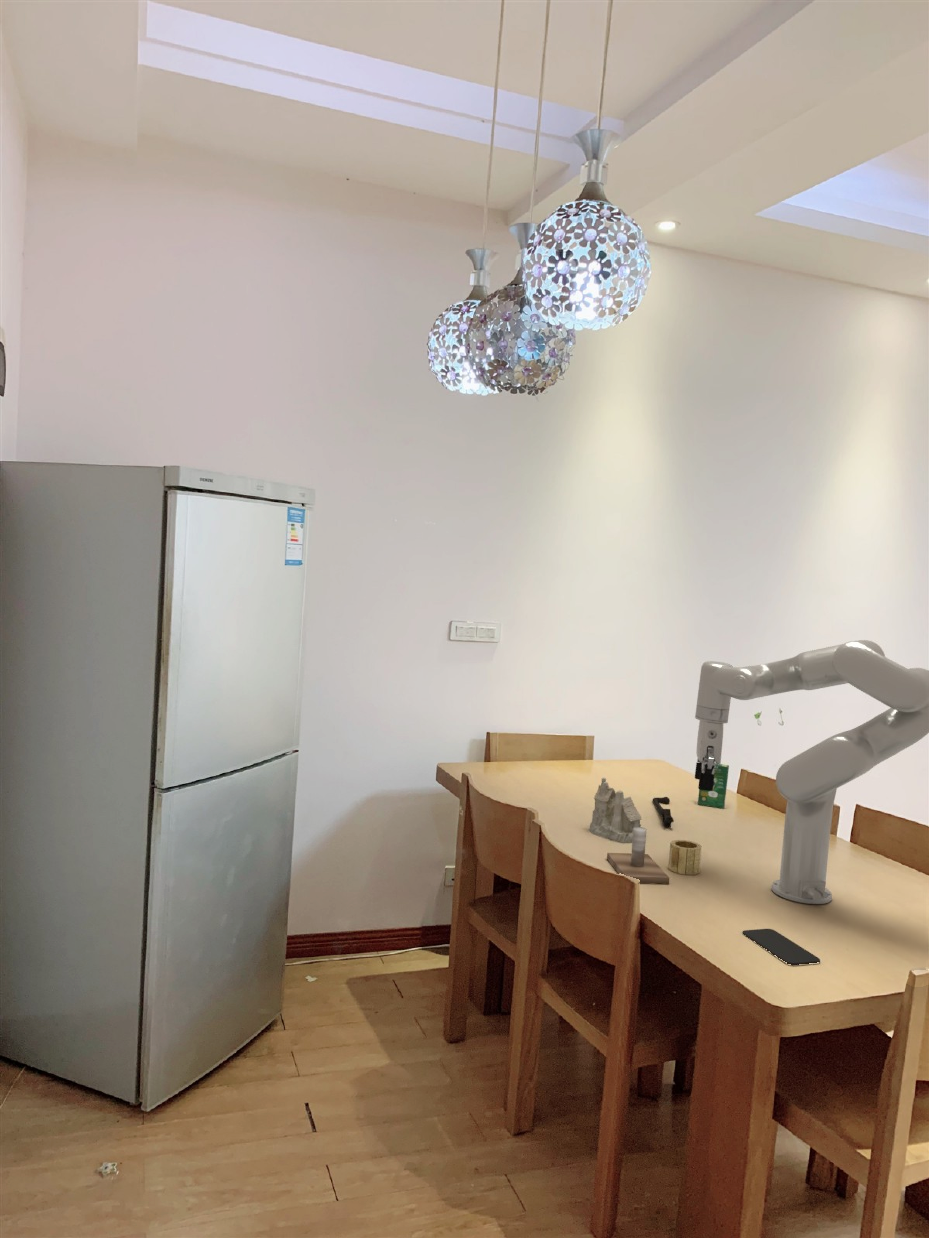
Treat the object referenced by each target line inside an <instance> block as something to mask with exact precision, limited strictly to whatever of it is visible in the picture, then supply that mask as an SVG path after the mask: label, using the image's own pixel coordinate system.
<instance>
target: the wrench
mask: <svg viewBox="0 0 929 1238" xmlns="http://www.w3.org/2000/svg"><path fill="white" fill-rule="evenodd" d="M670 802H671V801H670V798H669V797H668V796H664V797H653V798H652V803H653V804H654V807H655V808H656V810H657V812H658V813H659V816H660V817H661V818H662V820H661V821H662V824H663V826H664V828H671V827H672V824H673V823H674V821H675V820H674V817H673V816H672V813H671V808H663V807H662V806H661V804H664V805H669V804H670Z"/></svg>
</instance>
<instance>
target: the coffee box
mask: <svg viewBox="0 0 929 1238" xmlns="http://www.w3.org/2000/svg"><path fill="white" fill-rule="evenodd" d="M729 768H730V766H729V765H728V764H723V763H720V765H717V764H716V763H715V766H714V774H715V775H714V783H713V790H712V791H706V790H700V789H699V788H698V790H699V791H698V797H697V805H701V806H704V807H712V808H716V809H725V805H726V798H727V797H726V796H727V787H728V779H729V778H728V777H729Z"/></svg>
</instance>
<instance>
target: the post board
mask: <svg viewBox="0 0 929 1238" xmlns="http://www.w3.org/2000/svg"><path fill="white" fill-rule="evenodd" d="M646 843H647V828H645V827H643V826H641V827H634V828H633V841H632V843H631V853H628V852H627V853H626V852H625V853H624V852H623V853H622V852H621V853H620V852H607V855H606V859H607V861H608V863H609V864H610V865H611V866H612V867H613V869H614V870H615V872H616V873H617V874H618V873H621V874H624V875H626V876H630V877H633V878H636V879H639V880H640V883H639V884H644V883H665V884H664V885H670V877H669V876H668V874H666V872H665V871H664V870H663V869H662V868H661V866H660V865H658V863H657V862H656V861H655V860H654V859H653V858H652V857H651V856H650V855H649V853H646Z"/></svg>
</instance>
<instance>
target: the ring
mask: <svg viewBox="0 0 929 1238" xmlns="http://www.w3.org/2000/svg"><path fill="white" fill-rule="evenodd" d="M669 843H670V844H669V852H668V853H669V856H668V857H669V858H668V869H669V870H670V871H671V872H673V873H676V874H679V875H685V876H694V875H699V874H698V873H700V872H701V861H702V860H701V859H702V848H703V846H702V845H701V844H700V843H698V842H695V841H691V840H685V839H675V840H671V842H669Z"/></svg>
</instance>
